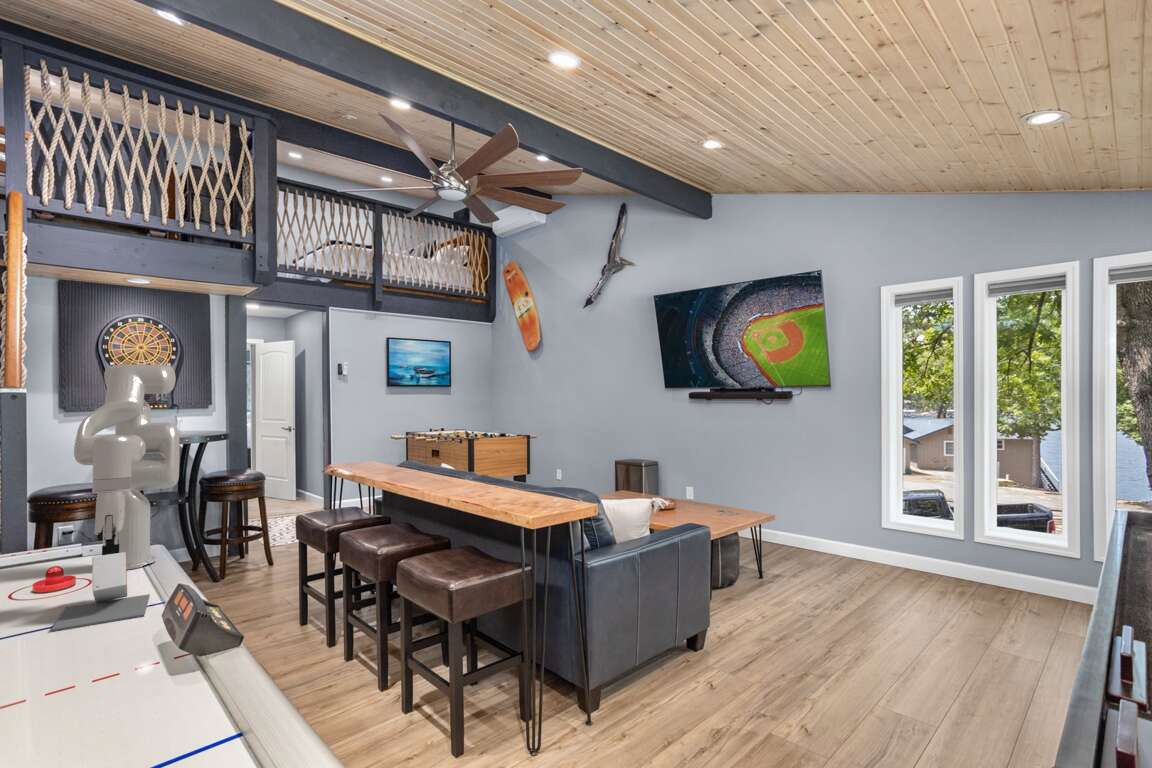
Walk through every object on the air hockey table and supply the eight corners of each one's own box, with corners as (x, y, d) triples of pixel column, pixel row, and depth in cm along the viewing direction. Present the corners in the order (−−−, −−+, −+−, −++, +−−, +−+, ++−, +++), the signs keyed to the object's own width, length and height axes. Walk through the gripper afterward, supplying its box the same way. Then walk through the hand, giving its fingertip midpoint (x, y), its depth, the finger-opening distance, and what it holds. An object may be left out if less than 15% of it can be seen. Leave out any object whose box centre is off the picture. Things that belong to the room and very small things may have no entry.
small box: (127, 597, 145) (127, 585, 136) (94, 603, 141) (91, 592, 132) (126, 564, 148) (126, 551, 139) (94, 570, 144) (91, 556, 135)
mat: (65, 609, 138) (66, 606, 138) (149, 596, 146) (149, 594, 146) (51, 631, 124) (51, 629, 124) (144, 616, 133) (144, 614, 133)
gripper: (96, 485, 148) (95, 558, 147) (87, 489, 136) (85, 569, 134) (133, 482, 152) (132, 554, 151) (128, 486, 140) (126, 564, 138)
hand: (110, 561), depth 143 cm, fingers closed
